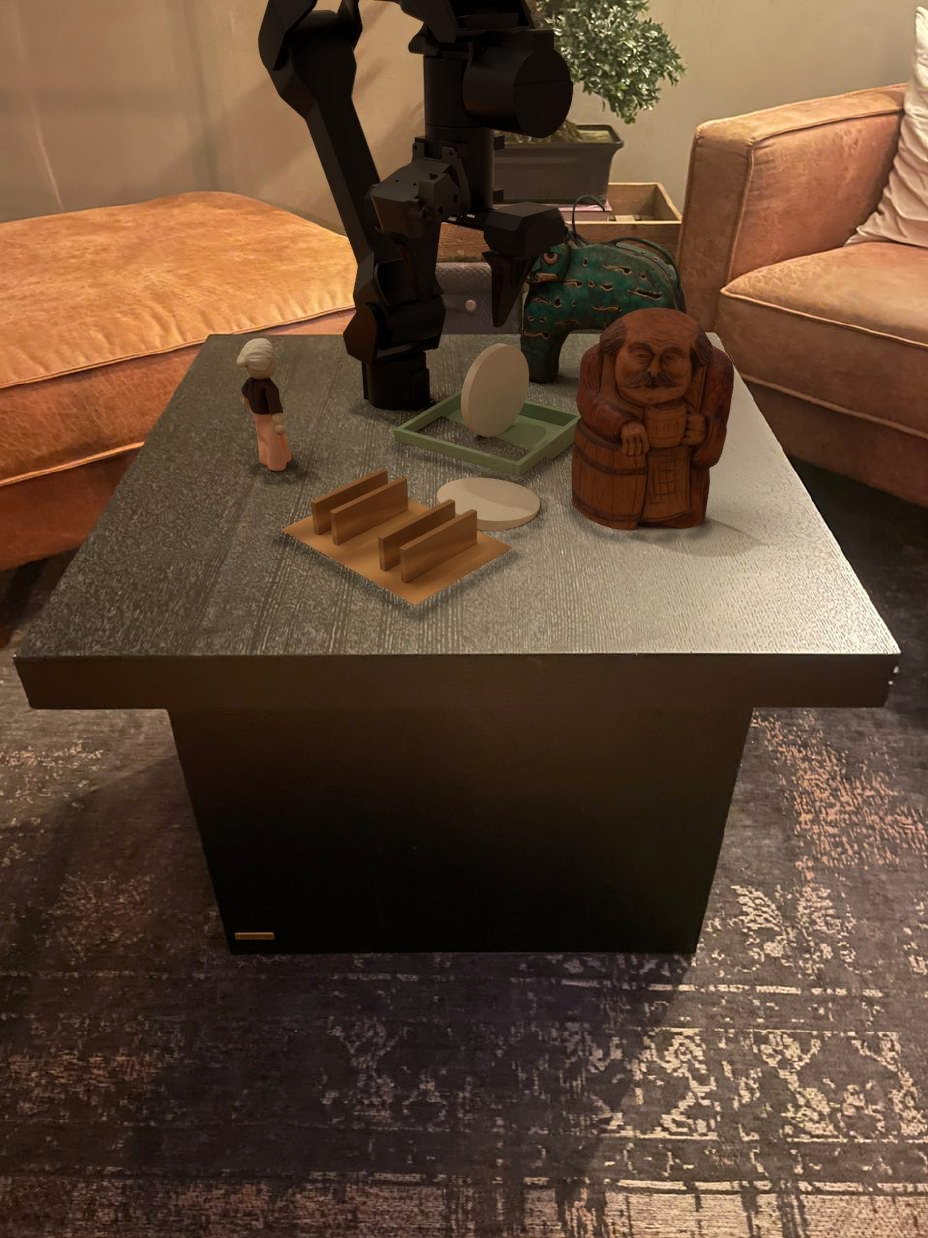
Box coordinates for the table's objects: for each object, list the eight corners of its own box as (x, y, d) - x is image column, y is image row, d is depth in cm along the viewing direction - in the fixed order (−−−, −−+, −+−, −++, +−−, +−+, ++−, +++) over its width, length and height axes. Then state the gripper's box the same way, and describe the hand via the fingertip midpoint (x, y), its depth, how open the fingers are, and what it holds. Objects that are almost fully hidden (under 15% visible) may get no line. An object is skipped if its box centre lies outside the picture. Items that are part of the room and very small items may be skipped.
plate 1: (456, 442, 89) (465, 348, 84) (515, 426, 95) (527, 338, 90) (464, 445, 88) (473, 351, 84) (523, 428, 94) (534, 340, 90)
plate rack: (282, 539, 77) (276, 497, 75) (378, 493, 83) (376, 453, 81) (415, 615, 68) (413, 570, 66) (512, 557, 75) (513, 514, 72)
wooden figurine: (572, 539, 77) (589, 325, 66) (567, 502, 82) (582, 298, 71) (714, 540, 77) (754, 326, 66) (699, 503, 82) (734, 298, 71)
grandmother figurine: (316, 476, 86) (301, 343, 79) (283, 490, 84) (265, 355, 76) (266, 451, 90) (247, 323, 83) (233, 464, 88) (211, 333, 81)
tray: (395, 448, 91) (394, 429, 90) (467, 403, 100) (467, 385, 98) (519, 486, 84) (519, 465, 83) (584, 434, 93) (586, 414, 92)
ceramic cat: (502, 378, 105) (506, 190, 94) (529, 361, 110) (536, 178, 98) (665, 416, 97) (693, 213, 85) (687, 395, 101) (716, 200, 90)
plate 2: (528, 528, 75) (548, 488, 82) (423, 508, 77) (452, 470, 84) (527, 539, 75) (547, 498, 83) (423, 519, 77) (451, 481, 85)
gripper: (308, 121, 75) (326, 313, 84) (478, 149, 64) (477, 364, 74) (406, 107, 81) (413, 286, 91) (574, 129, 71) (562, 330, 80)
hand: (460, 315), depth 84 cm, fingers open, 9 cm apart
